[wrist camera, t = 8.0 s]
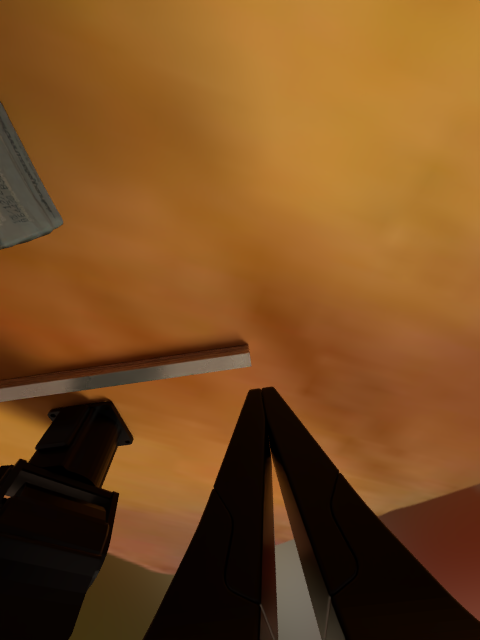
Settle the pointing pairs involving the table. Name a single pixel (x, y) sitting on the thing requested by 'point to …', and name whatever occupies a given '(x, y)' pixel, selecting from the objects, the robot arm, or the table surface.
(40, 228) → the beverage carton
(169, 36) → the table surface
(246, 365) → the bay
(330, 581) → the robot arm
